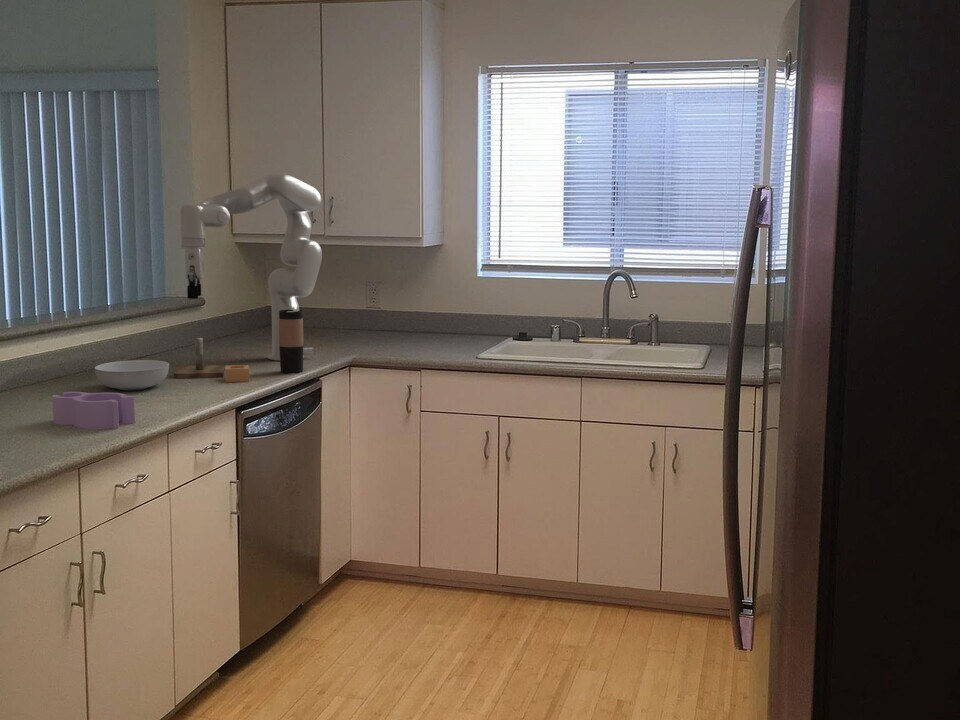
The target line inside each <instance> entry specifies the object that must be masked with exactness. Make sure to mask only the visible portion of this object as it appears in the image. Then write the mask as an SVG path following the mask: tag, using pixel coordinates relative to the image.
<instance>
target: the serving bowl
mask: <svg viewBox="0 0 960 720" xmlns="http://www.w3.org/2000/svg"><path fill="white" fill-rule="evenodd" d="M169 369H170V363H169V362H167V361H164V360H163V361H162V360H158V359H157V360H155V359H154V360H153V359H132V360H131V359H130V360H118V361H111V362H106V363H101V364H98V365H95V366H94V373H95V376H96V378H97V380H98V381H99V382H100V383H101V384H102V385H104V386H106V387H108V388H111V389H117V390H119V391H140V390H141V391H142V390H147V389H148V388H151V387H153V386H156V385H159V384H160V383H162V382H163V381H164V380H165V379H166V378H167V376H168V373H169Z"/></svg>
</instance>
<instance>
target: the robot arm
mask: <svg viewBox="0 0 960 720" xmlns="http://www.w3.org/2000/svg"><path fill="white" fill-rule="evenodd" d="M274 200H275V201H276V200H278V201H279V205H280V206H281V208H282V209H283V212H284V214H285V217H286V222H287V223H286V224H287V225H286V230H285V232H284V233H285V235H284V238H283V240H282V241H283V242H282V244H281V248H280V253H279V258H280V261H281V262H282V263H283V264H285V265H287V266H290V267H295V268H285V267H283V268H277V269H275V270H273V271H272V272H271V273H270V274H269V276H268V279H267V285H268V290H269V292H268V293H269V296H270V302H271V303H270V304H271V342H272V343H271V344H272V347H271V349H272V353H270V354H268V355H267V359H269V360H270V361H271V360H272V361H279V362H280V348H279V311H280V310H293V311H299V310H300V305H299V302H298V299H297V298H306V297H308V296H310V295H311V294H312V293H313V290H314V289H315V286H316V282H317V279H318V276H319V272H320V268H321V265H322V259H323V251H322V248H321V246H320V244H319V243H318V242H317V241H315V240H312V239H310V238H311V232H312V228H313V227H312V221H311V220H312V219H311V217H310V216H309V213H312V212H315V211H317V210H318V209H319V208H320V206H321V204H322V196H321V193H320V192H319V190H318V189H316V188H315V187H314V186H312V185H310V184H308V183H307V182H304V181H302V180H300V179H298V178H296V177H294V176H291V175H289V174H286V173H281V174H280V173H274V174H273V173H270V174H266V175H262V176H261V177H258V178H257V179H255V180H253V181H251V182H248V183H246V184H245V185H242V186H240V187H238V188H234V189H231V190H229V191H226V192H222V193H220V194H217V195H214V196H212V197H208V198H207V199H205V200H202V201H200V202H198V203H197V204H182V205H181V206H180V208H179V209H180V210H179V214H180V215H179V217H180V221H179V222H180V249H184V265H185V278H186V280H187V286H186V288H187V294H186V295H187V300H193V299H194V300H195V299H196V300H197V299H199V297H201V296H202V283H201V281H202V279H204V278H205V271H204V270H205V269H204V253H203V250H204V249H206V228H209V229H210V228H214V229H219V228H223V227H225V226H227V225H228V224H229V222H230V221H231V216H232V215H239V214H245V213H250V212H252V211H254V210H257V209H259V208H260V207H262V206H264V205H266V204H268V203H270V202H272V201H274ZM313 353H314V347H304V346H303V359H304V358H305V354H313Z"/></svg>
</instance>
